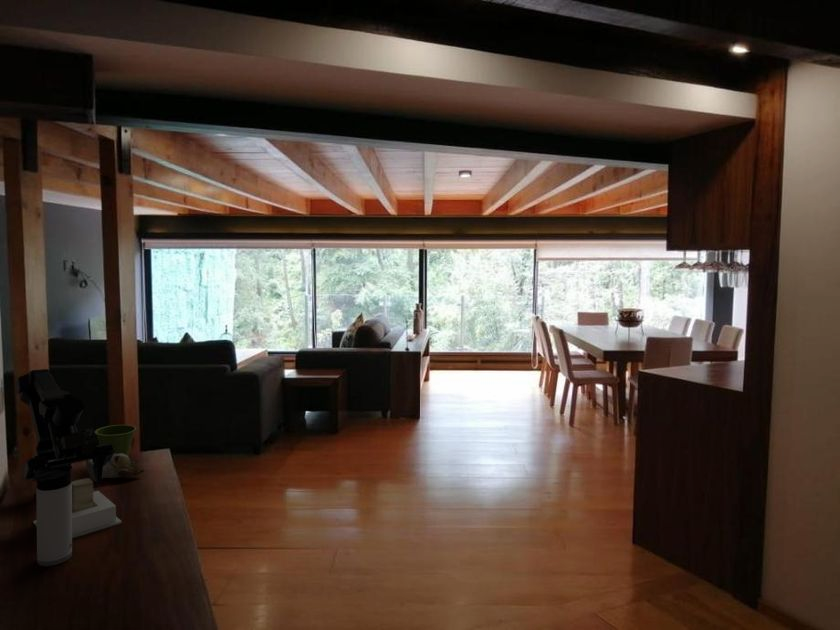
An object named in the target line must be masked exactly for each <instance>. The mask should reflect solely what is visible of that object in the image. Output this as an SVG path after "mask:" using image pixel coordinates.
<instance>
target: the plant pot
mask: <svg viewBox="0 0 840 630" xmlns="http://www.w3.org/2000/svg"><path fill="white" fill-rule="evenodd" d="M136 430H137V426H135V425H131V424H116V425H115V424H114V425H107V426H103V427H99V428H97V429H96V430H94V433H95V435H96V436H97V437H96V438H97V441H98V445H103V444H109V443H110V444H112V445H113V446H114V449H115V453H116V454H120V453H123V454H125V455H127V456H128V457H129V456H130V452H131V447H132V442H133V438H134V435H135V431H136ZM129 458H130V457H129Z"/></svg>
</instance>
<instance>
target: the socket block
mask: <svg viewBox="0 0 840 630" xmlns="http://www.w3.org/2000/svg"><path fill="white" fill-rule="evenodd" d="M122 523H123V521H122V520H121V519H120V518H119V517H117V505H116V504H114V503H113V502H112V501H111V500H110V499H109V498H108V497H106V496H105V495H104V494H103V493H101V491H100V490H95V491H93V507H92V508H89V509H85V510H81V511H78V512H74V513H72V539H74V538H79V537H81V536H84V535H88V534H91V533H94V532H98V531H101V530H104V529H107V528H111V527H114V526H117V525H118V526H119V525H121V524H122ZM33 524H34V526H35V527H36V528H37V519H36V520H33Z"/></svg>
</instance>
